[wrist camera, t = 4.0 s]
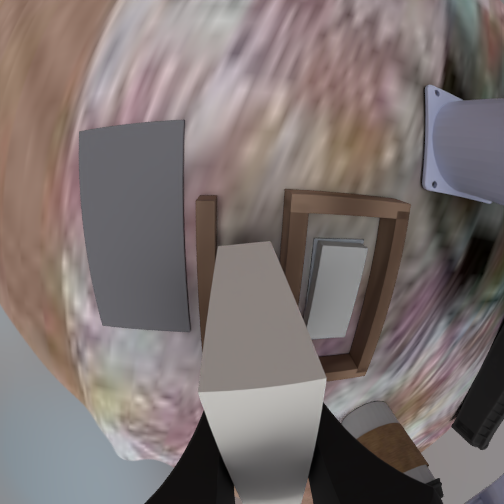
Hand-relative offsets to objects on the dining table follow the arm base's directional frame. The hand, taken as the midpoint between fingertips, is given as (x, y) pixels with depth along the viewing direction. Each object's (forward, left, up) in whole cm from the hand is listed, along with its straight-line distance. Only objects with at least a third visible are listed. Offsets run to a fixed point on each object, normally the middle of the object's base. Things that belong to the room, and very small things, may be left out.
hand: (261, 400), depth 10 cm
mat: (+8, -4, -9) cm, 12 cm away
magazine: (-36, +13, -10) cm, 40 cm away
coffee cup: (-14, +17, -9) cm, 24 cm away
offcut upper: (-6, 0, -9) cm, 11 cm away
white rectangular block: (0, 0, -5) cm, 5 cm away
